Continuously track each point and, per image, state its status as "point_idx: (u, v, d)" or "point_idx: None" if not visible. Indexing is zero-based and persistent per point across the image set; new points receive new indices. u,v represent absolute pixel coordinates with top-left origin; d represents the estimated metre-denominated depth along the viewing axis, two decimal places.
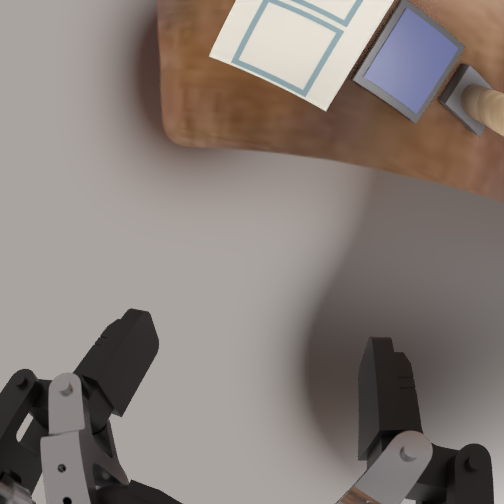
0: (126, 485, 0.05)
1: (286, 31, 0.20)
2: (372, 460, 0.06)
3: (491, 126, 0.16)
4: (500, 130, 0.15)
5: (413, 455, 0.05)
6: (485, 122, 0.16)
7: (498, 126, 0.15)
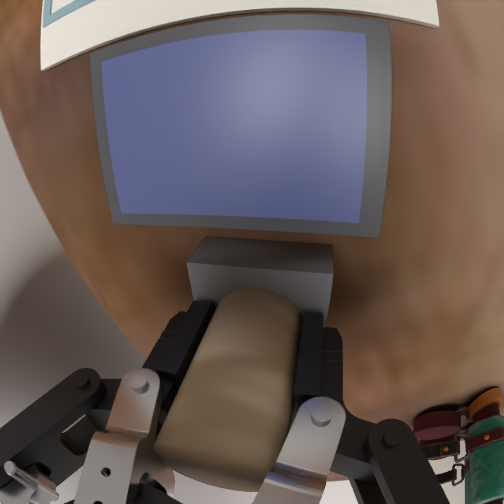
0: None
1: None
2: None
3: None
4: (161, 458, 0.06)
5: (322, 420, 0.06)
6: None
7: (161, 454, 0.06)
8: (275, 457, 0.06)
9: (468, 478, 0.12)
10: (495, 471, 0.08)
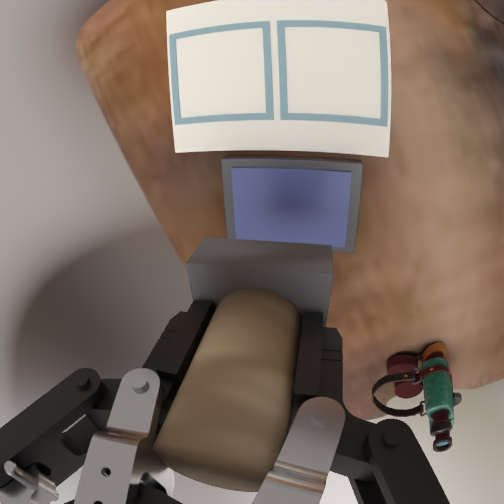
0: None
1: (235, 63, 0.18)
2: None
3: None
4: (161, 458, 0.06)
5: (322, 420, 0.06)
6: None
7: (161, 454, 0.06)
8: (275, 457, 0.06)
9: None
10: (438, 389, 0.21)
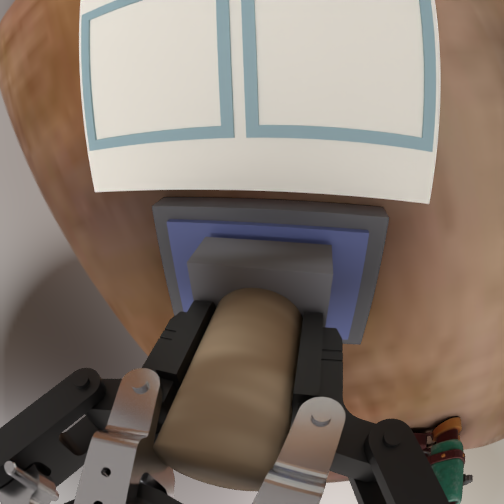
0: None
1: (170, 44, 0.10)
2: None
3: None
4: (161, 457, 0.06)
5: (322, 420, 0.06)
6: None
7: (161, 453, 0.06)
8: (275, 456, 0.06)
9: None
10: (448, 481, 0.13)
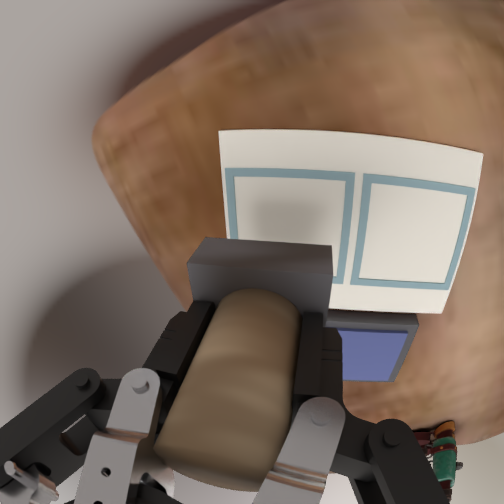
0: None
1: (308, 221, 0.18)
2: None
3: None
4: (161, 458, 0.06)
5: (322, 420, 0.06)
6: None
7: (161, 454, 0.06)
8: (275, 457, 0.06)
9: None
10: (444, 465, 0.21)
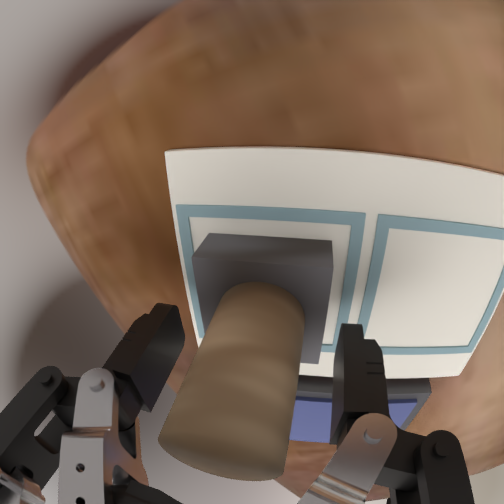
0: (126, 485, 0.05)
1: None
2: (340, 443, 0.07)
3: None
4: (166, 447, 0.07)
5: (376, 437, 0.05)
6: None
7: (167, 443, 0.06)
8: (279, 443, 0.06)
9: None
10: None
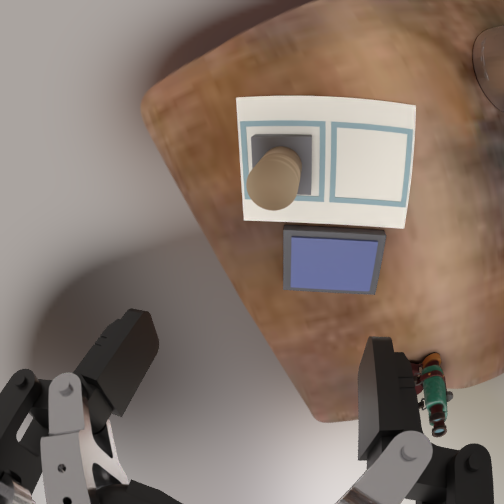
0: (126, 485, 0.05)
1: None
2: (372, 460, 0.06)
3: None
4: (249, 185, 0.19)
5: (413, 455, 0.05)
6: None
7: (250, 180, 0.19)
8: (295, 172, 0.19)
9: None
10: (434, 389, 0.29)
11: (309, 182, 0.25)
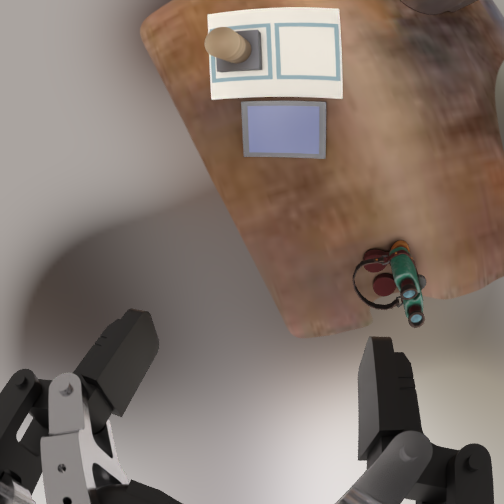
0: (126, 485, 0.05)
1: None
2: (372, 460, 0.06)
3: None
4: (206, 43, 0.23)
5: (413, 455, 0.05)
6: None
7: (207, 40, 0.23)
8: (237, 33, 0.23)
9: None
10: (402, 264, 0.33)
11: (257, 59, 0.28)
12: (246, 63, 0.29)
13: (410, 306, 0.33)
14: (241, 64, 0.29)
